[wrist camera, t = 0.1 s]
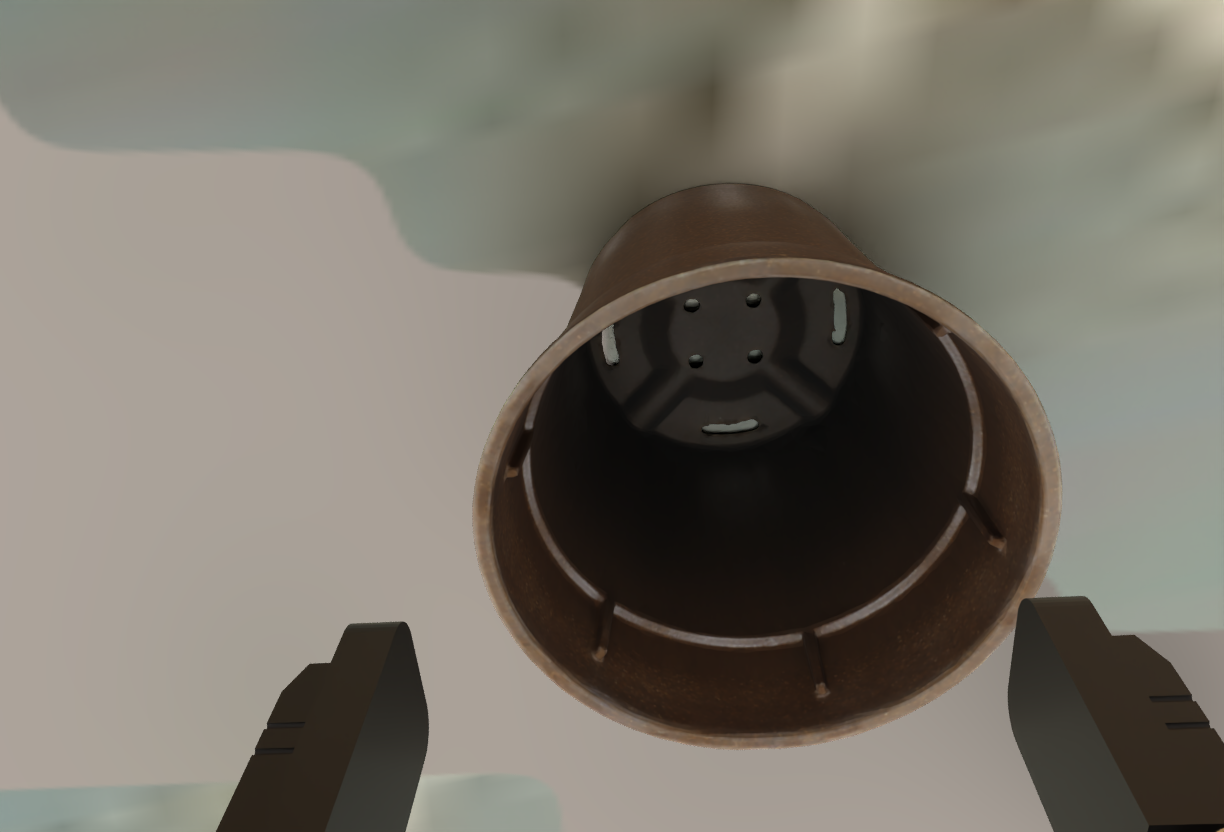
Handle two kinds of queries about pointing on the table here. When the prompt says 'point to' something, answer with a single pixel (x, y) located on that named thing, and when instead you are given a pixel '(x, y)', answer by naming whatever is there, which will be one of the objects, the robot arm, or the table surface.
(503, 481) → the plant pot
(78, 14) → the table surface
